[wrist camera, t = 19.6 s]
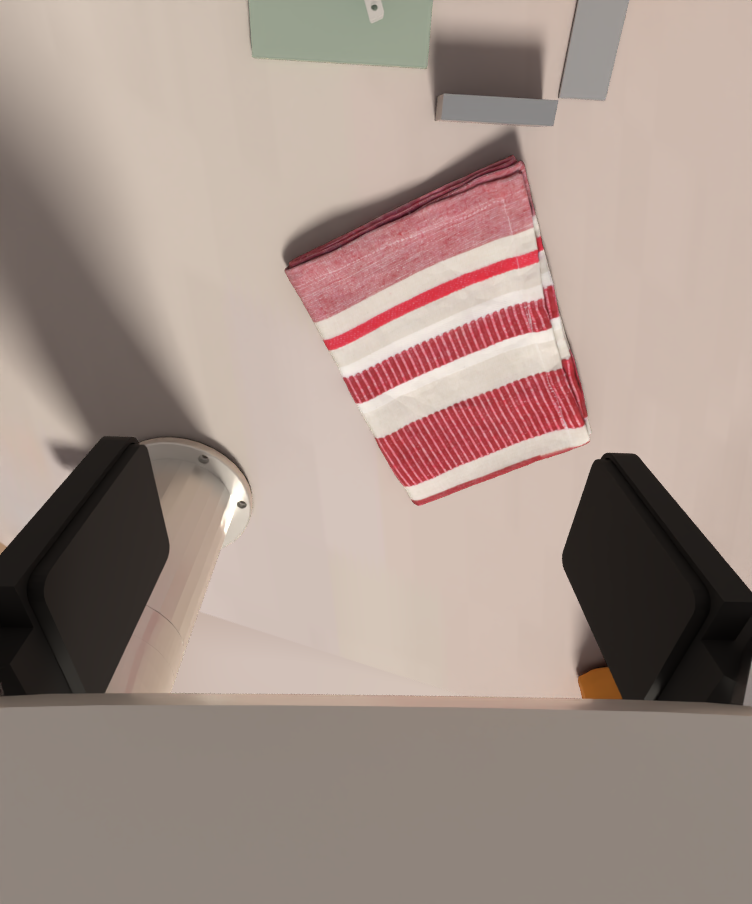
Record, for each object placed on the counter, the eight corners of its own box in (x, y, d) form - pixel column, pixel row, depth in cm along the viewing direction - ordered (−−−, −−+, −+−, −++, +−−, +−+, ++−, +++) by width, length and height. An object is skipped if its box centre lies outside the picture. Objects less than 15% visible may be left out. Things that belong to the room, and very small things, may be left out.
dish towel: (513, 145, 32) (524, 147, 30) (589, 433, 44) (601, 449, 41) (283, 261, 36) (278, 270, 33) (409, 498, 47) (412, 516, 45)
